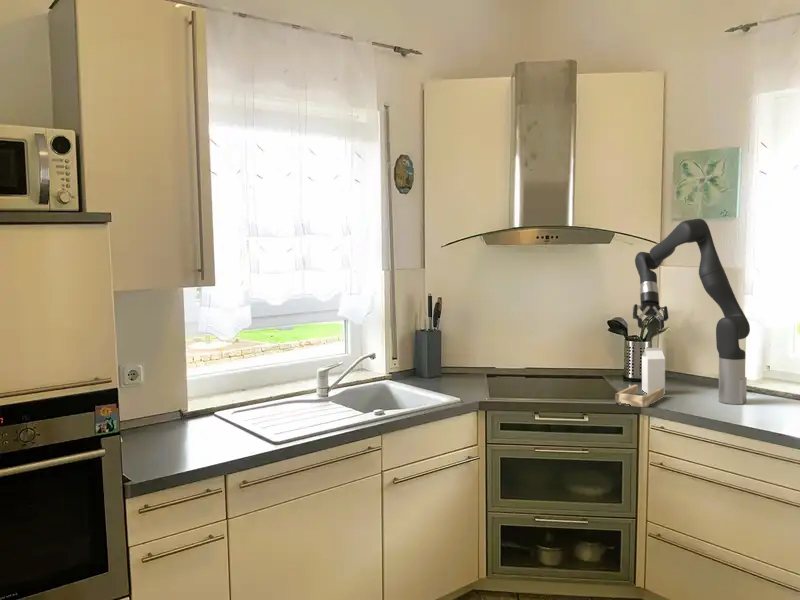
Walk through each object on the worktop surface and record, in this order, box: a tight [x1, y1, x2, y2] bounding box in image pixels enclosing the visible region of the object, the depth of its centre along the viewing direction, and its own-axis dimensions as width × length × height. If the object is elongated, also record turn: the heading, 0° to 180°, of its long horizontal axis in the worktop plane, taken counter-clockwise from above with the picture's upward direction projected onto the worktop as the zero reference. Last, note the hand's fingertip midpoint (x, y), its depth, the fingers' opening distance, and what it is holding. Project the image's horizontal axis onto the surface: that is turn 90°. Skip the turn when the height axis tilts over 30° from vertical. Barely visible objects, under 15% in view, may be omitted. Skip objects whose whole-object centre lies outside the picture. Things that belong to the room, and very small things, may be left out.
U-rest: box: [614, 384, 665, 408], centre depth 270 cm, size 12×20×4 cm, turn 141°
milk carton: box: [641, 347, 666, 395], centre depth 282 cm, size 7×7×19 cm
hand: (651, 328), depth 290 cm, fingers open, 8 cm apart
